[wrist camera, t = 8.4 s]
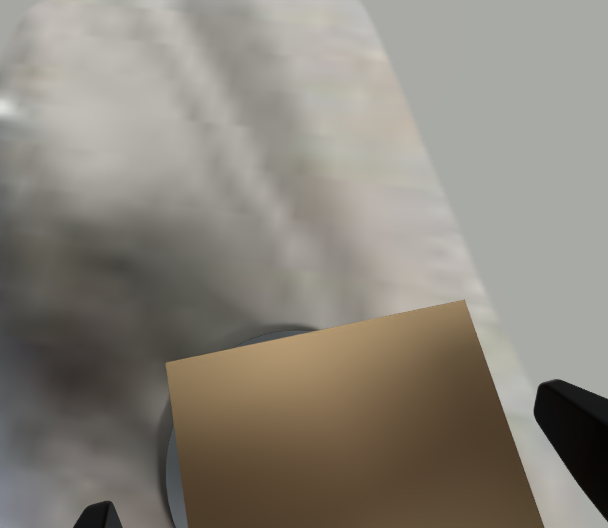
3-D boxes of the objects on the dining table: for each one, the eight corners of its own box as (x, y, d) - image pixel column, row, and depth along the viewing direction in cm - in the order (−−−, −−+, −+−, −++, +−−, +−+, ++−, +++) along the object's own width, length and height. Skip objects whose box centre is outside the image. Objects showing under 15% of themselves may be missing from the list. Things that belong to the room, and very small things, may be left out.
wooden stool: (390, 520, 17) (584, 642, 8) (233, 568, 16) (223, 787, 6) (349, 364, 19) (464, 299, 9) (206, 397, 18) (165, 362, 8)
